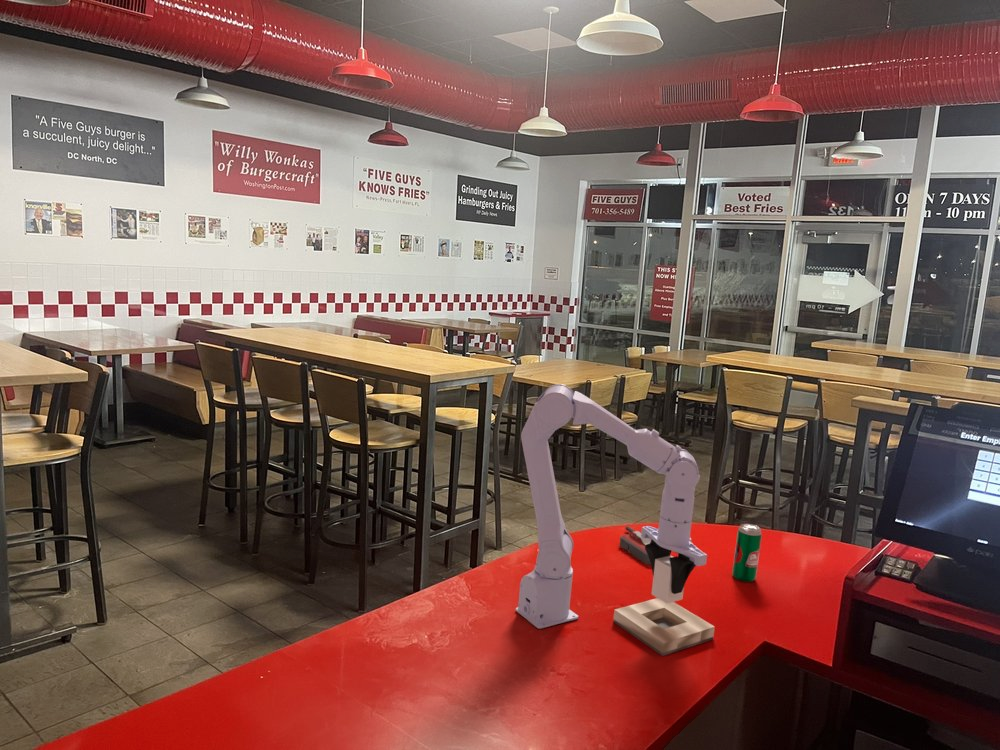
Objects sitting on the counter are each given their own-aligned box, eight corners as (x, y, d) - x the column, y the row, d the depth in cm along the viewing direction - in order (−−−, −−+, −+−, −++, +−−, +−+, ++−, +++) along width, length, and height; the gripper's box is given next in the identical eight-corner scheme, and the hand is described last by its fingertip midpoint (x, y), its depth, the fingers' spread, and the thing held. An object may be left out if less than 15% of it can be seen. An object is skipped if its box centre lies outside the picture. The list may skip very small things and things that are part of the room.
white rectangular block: (666, 603, 131) (671, 567, 130) (651, 594, 135) (655, 559, 134) (682, 599, 134) (686, 563, 132) (666, 590, 137) (670, 555, 136)
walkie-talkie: (679, 564, 167) (629, 532, 185) (681, 546, 166) (630, 515, 184) (649, 568, 163) (600, 535, 181) (651, 550, 162) (602, 518, 180)
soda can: (747, 585, 157) (754, 533, 155) (727, 576, 161) (733, 525, 159) (759, 579, 161) (767, 528, 159) (739, 571, 164) (746, 521, 162)
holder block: (662, 655, 126) (663, 642, 126) (613, 621, 137) (614, 609, 137) (713, 639, 133) (714, 626, 133) (662, 607, 144) (664, 596, 144)
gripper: (721, 528, 128) (712, 599, 130) (663, 501, 140) (655, 567, 142) (694, 534, 124) (685, 607, 126) (636, 506, 136) (628, 573, 138)
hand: (667, 587), depth 134 cm, fingers closed on white rectangular block, 4 cm apart
